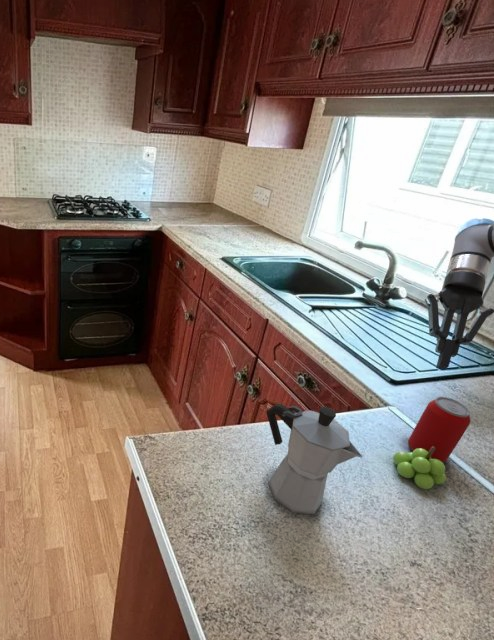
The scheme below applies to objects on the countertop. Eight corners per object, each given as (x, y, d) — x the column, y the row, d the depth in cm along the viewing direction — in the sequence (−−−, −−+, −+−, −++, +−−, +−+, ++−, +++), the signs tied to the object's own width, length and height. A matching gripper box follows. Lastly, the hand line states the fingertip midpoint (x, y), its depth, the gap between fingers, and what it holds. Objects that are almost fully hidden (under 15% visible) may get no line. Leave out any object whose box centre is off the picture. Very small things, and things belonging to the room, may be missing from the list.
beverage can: (441, 447, 83) (468, 401, 78) (449, 470, 78) (480, 423, 72) (403, 435, 85) (428, 390, 80) (409, 457, 80) (436, 409, 75)
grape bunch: (429, 464, 78) (446, 436, 75) (450, 498, 72) (470, 468, 68) (385, 455, 80) (400, 427, 76) (402, 487, 73) (419, 458, 69)
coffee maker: (341, 503, 68) (382, 422, 60) (320, 534, 63) (362, 449, 55) (262, 450, 78) (288, 373, 70) (237, 473, 72) (263, 392, 64)
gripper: (491, 292, 97) (470, 382, 91) (427, 278, 103) (403, 361, 97) (508, 278, 90) (486, 373, 85) (438, 263, 96) (414, 352, 90)
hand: (442, 367), depth 91 cm, fingers closed
